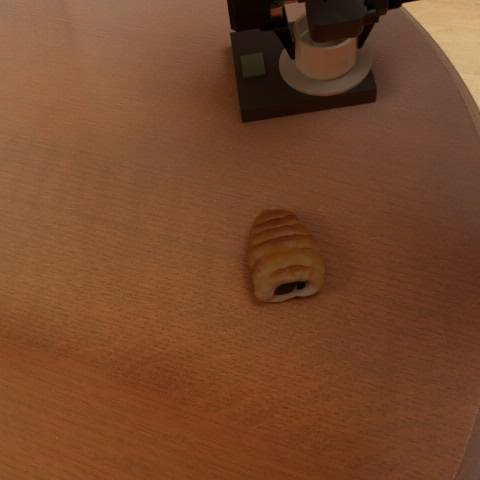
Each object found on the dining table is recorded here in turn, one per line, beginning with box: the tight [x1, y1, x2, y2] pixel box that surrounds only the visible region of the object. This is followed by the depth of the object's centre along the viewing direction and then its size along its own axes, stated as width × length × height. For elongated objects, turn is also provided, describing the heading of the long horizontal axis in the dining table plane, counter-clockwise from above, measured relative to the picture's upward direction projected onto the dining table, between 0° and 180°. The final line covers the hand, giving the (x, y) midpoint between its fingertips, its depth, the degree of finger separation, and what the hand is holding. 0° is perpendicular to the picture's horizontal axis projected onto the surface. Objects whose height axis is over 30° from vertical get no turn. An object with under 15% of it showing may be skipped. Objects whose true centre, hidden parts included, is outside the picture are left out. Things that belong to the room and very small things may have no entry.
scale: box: [229, 20, 378, 123], centre depth 81 cm, size 14×12×2 cm
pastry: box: [246, 208, 327, 304], centre depth 68 cm, size 9×7×4 cm
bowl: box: [293, 11, 358, 80], centre depth 77 cm, size 6×6×4 cm
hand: (325, 51), depth 78 cm, fingers closed on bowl, 6 cm apart
